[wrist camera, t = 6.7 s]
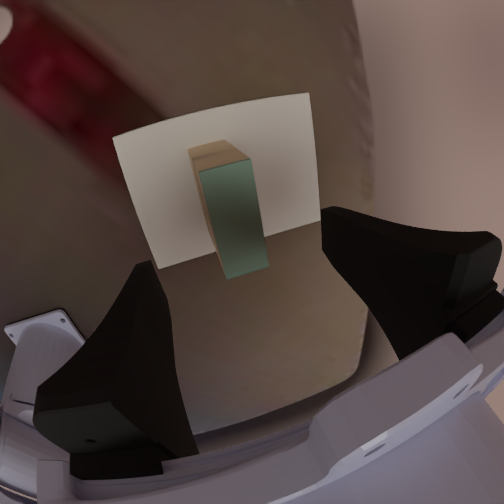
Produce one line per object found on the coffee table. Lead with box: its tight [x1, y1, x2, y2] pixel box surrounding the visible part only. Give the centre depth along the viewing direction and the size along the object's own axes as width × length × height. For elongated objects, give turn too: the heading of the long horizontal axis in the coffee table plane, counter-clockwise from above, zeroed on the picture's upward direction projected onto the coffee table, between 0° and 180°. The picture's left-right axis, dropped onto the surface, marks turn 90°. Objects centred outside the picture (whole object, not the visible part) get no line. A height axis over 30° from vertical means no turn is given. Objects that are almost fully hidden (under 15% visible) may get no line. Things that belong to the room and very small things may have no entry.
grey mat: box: [113, 93, 320, 269], centre depth 19 cm, size 10×13×1 cm
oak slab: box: [187, 139, 269, 280], centre depth 17 cm, size 6×2×6 cm, turn 10°
